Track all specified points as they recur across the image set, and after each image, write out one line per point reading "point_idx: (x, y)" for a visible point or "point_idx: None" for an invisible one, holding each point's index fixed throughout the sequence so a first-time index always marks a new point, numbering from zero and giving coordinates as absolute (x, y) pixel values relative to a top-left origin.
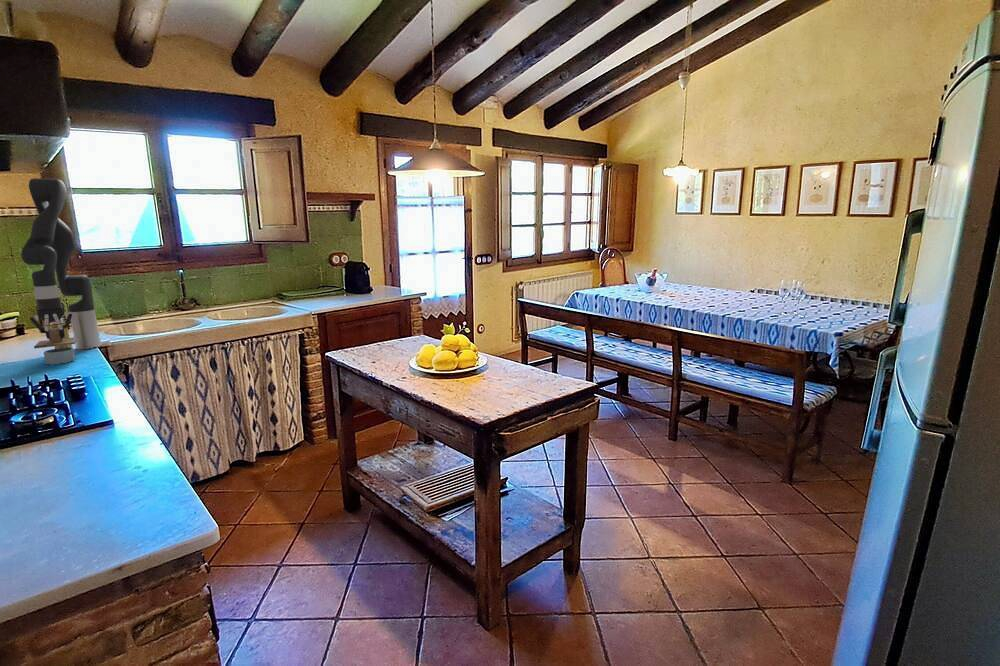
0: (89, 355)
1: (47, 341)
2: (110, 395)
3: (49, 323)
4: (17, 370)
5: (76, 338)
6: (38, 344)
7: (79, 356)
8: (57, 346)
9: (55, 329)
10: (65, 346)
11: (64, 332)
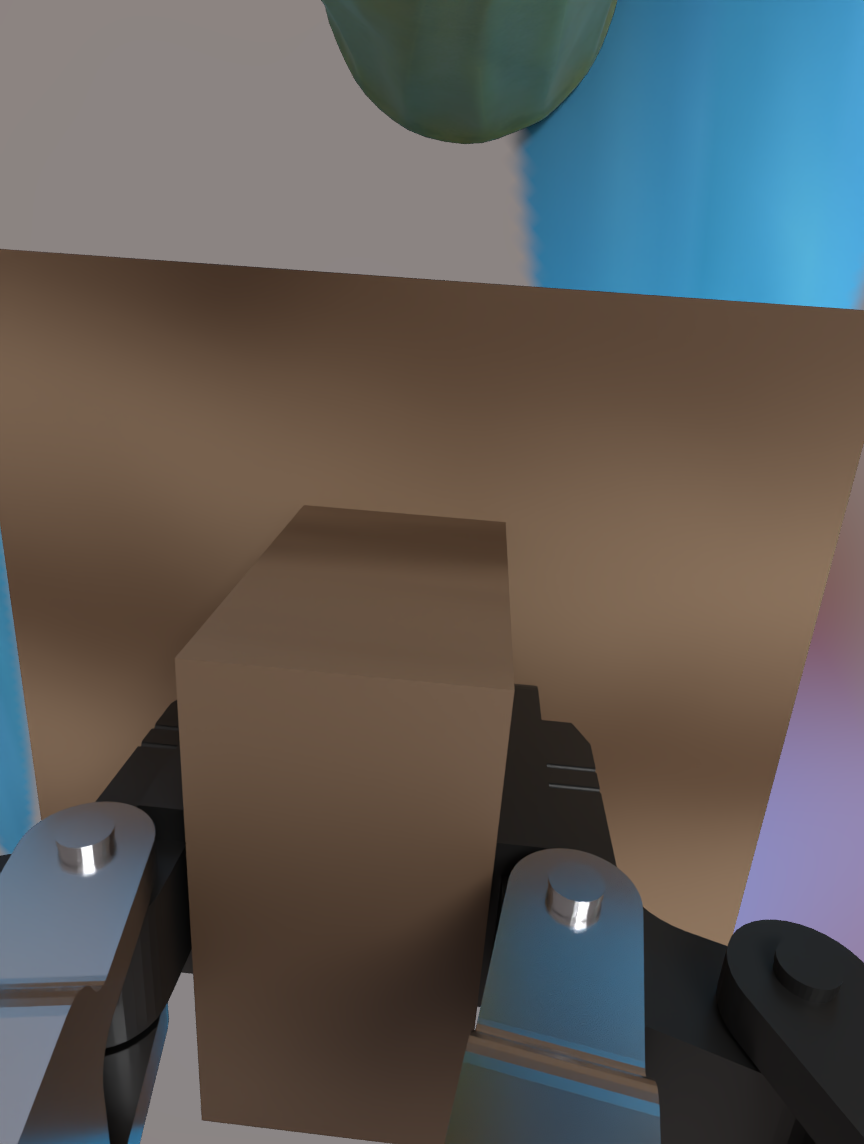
0: (831, 281)
1: (180, 494)
2: None
3: (77, 1119)
4: (4, 685)
5: (811, 580)
6: (78, 773)
7: (684, 243)
8: (354, 27)
9: (365, 947)
10: (515, 66)
11: (602, 805)
